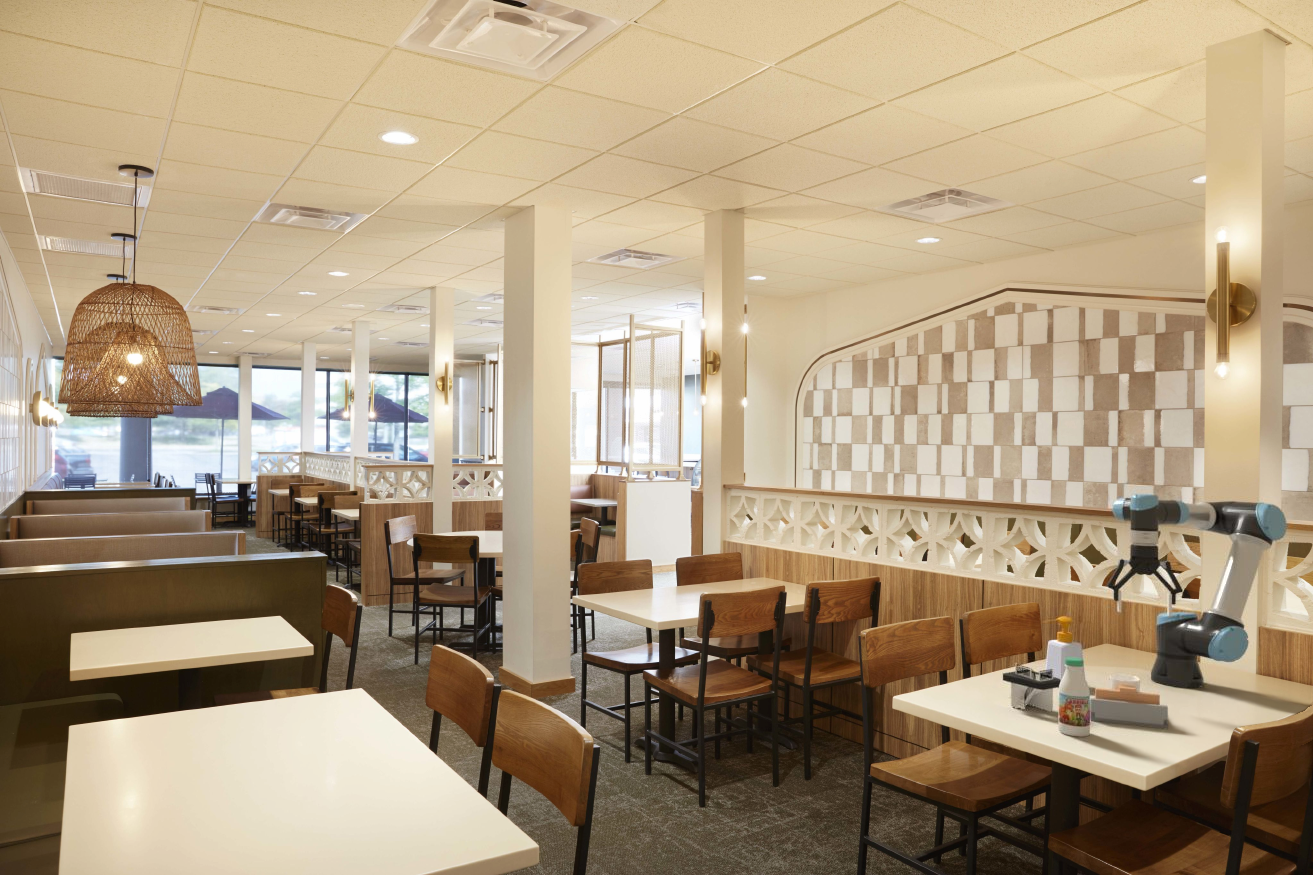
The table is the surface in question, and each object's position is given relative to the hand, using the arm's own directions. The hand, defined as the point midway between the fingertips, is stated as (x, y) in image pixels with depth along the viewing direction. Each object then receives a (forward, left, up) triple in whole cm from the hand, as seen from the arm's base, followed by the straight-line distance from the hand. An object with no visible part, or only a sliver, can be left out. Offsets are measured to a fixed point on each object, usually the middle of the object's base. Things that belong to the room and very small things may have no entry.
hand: (1144, 613), depth 268 cm
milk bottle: (+23, +43, -27) cm, 56 cm away
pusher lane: (+8, +20, -27) cm, 34 cm away
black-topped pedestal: (+33, +24, -27) cm, 49 cm away
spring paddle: (+8, +25, -25) cm, 37 cm away
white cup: (+8, +20, -26) cm, 34 cm away
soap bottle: (+23, -10, -27) cm, 37 cm away
